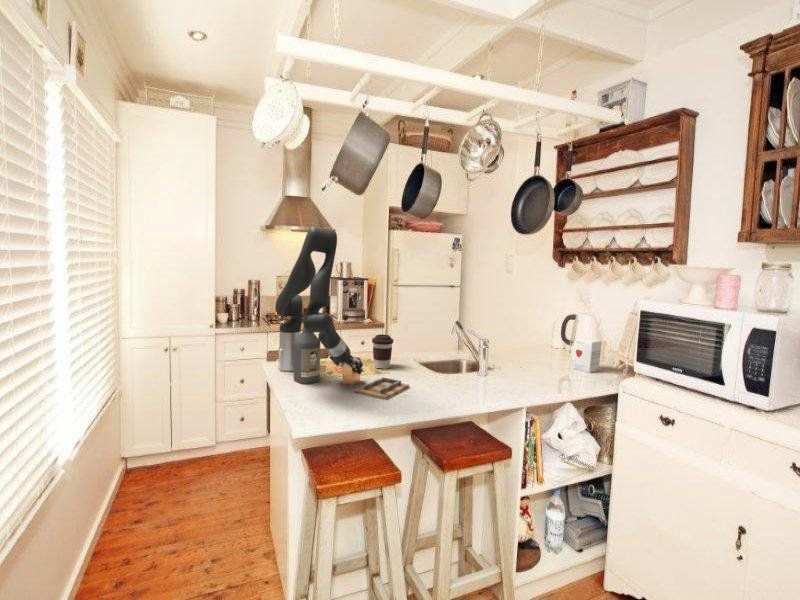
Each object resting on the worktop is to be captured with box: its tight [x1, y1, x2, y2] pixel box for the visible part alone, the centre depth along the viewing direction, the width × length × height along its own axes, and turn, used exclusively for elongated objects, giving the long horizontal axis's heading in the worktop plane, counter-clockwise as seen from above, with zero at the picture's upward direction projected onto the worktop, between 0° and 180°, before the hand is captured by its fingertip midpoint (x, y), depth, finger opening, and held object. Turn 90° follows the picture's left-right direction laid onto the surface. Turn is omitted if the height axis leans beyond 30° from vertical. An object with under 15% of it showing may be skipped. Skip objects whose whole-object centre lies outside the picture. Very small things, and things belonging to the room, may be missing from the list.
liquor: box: [293, 307, 321, 385], centre depth 181 cm, size 9×9×30 cm
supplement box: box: [572, 337, 603, 374], centre depth 217 cm, size 9×9×15 cm
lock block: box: [342, 356, 362, 386], centre depth 183 cm, size 6×4×10 cm
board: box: [354, 376, 410, 401], centre depth 175 cm, size 18×14×3 cm
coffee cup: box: [371, 333, 394, 370], centre depth 206 cm, size 10×10×15 cm
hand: (354, 371), depth 184 cm, fingers open, 6 cm apart
